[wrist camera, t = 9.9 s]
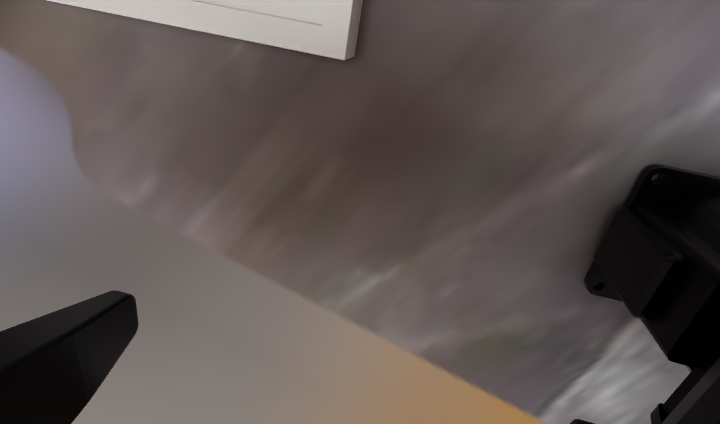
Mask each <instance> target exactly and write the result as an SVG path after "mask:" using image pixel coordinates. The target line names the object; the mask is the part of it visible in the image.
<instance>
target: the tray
mask: <svg viewBox="0 0 720 424" xmlns="http://www.w3.org/2000/svg"><path fill="white" fill-rule="evenodd" d="M48 1H53V2H58V3H63V4H68V5H73V6H78V7H83V8H88V9H93V10H98V11H103V12H108V13H113V14H118V15H123V16H127V17H132V18H137V19H142V20H147V21H152V22H157V23H162V24H167V25H172V26H177V27H182V28H187V29H192V30H197V31H202V32H207V33H212V34H217V35H222V36H227V37H232V38H236V39H241V40H246V41H251V42H256V43H261V44H266V45H271V46H276V47H281V48H286V49H291V50H296V51H301V52H306V53H311V54H316V55H321V56H326V57H331V58H336V59H340V60H346V59H349V58H352V57H354V56H355V50H356V43H357V37H358V30H359V23H360V17H361V10H362V4H363V0H48Z"/></svg>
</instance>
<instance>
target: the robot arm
mask: <svg viewBox="0 0 720 424" xmlns="http://www.w3.org/2000/svg"><path fill="white" fill-rule="evenodd" d="M656 174H661V177H660V178H659V179H658V180H657V181H655V182H652V178H653V176H654V175H656ZM594 258H595V261H594V263H593V265H592V267H591V269H590V270H589V272H588V274H587V276H586V278H585V281H584V283H585V286H586V288H587V290H588V291H589V292H590V293H592V294H594V295H598V296H602V297H606V298H611V299H615V300H619V301H623V302H624V304H625V305H626V307H627V308H628V310H629V311H630V313H631V314H632V316H634V317H636V318H640V319H641V320H642V322H643V323H644V325H645V326H646V328H647V329H648V331H649V332H650V334H651V335H652V336H653V338H654V339H655V341H656V342H657V344H658V345H659V347H660V348H661V350H662V351H663V352H664V354H665V355H666V357H667V358H668V360H670V361H672V362H675V363H679V364H683V365H685V366H686V367H687V368H688V370H689V371H690V372H691V373H690V374H689V375H688V376H687V377H686V379H685V380H684V381H683V382H682V383H681V384H680V386H679V387H678V388H677V389H676V390H675V391H674V393H673V394H672V395H671V396H670V397H669V398H668V400H667V401H666V402H665V403H664V404H661V403H660V404H658V405H657V407H656V408H655V409H654V410H653V411H652V413H651V423H652V424H720V177H716V176H711V175H706V174H702V173H697V172H692V171H687V170H683V169H678V168H673V167H668V166H664V165H652V166H649V167H647V168H646V169H645V170H644V171H643V172H642V173H641V175H640V177H639V179H638V181H637V183H636V185H635V186H634V188H633V190H632V192H631V194H630V196H629V198H628V199H627V201H626V203H625V205H624V207H623V208H621V209H620V210H618V211H617V213H616V215H615V217H614V219H613V221H612V223H611V224H610V226H609V228H608V230H607V232H606V234H605V236H604V238H603V239H602V241H601V243H600V245H599V247H598V249H597V251H596V253H595V255H594ZM596 282H601V283H600V284H599V285H597V286H593V284H594V283H596ZM137 329H138V316H137V308H136V300H135V298H134V296H133V295H131V294H128V293H124V292H121V291H110V292H107V293H104V294H102V295H99V296H96V297H93V298H90V299H88V300H85V301H82V302H80V303H77V304H74V305H72V306H69V307H66V308H63V309H61V310H58V311H55V312H52V313H50V314H47V315H44V316H41V317H39V318H36V319H34V320H30V321H28V322H25V323H22V324H19V325H17V326H14V327H11V328H9V329H6V330H3V331H0V424H71V423H72V422H73V421H74V419H75V418H76V417H77V416H78V414H79V413H80V412H81V411H82V410H83V408H84V407H85V406H86V405H87V403H88V402H89V401H90V399H91V398H92V396H93V395H94V394H95V392H96V391H97V390H98V388H99V387H100V385H101V383H102V382H103V381H104V379H105V378H106V376H107V375H108V374H109V372H110V371H111V369H112V368H113V366H114V365H115V363H116V362H117V360H118V359H119V358H120V356H121V355H122V353H123V352H124V350H125V349H126V347H127V346H128V344H129V343H130V341H131V340H132V339H133V337H134V335H135V333H136V331H137ZM570 424H594V423H591V422H587V421H584V420H580V419H575V420H573V421H572V422H571V423H570Z"/></svg>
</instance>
